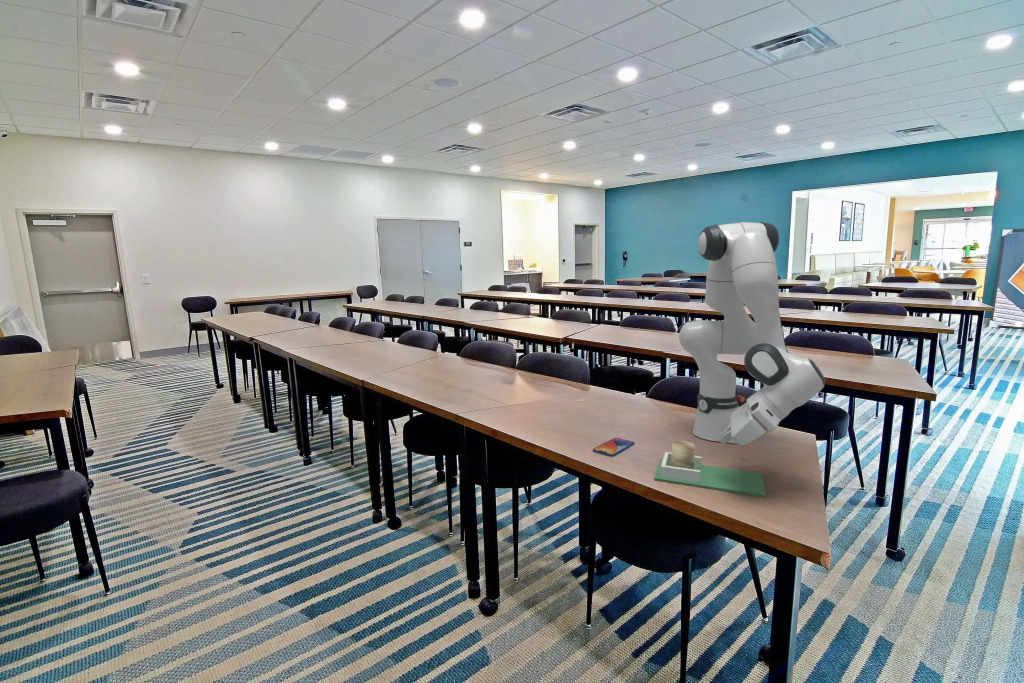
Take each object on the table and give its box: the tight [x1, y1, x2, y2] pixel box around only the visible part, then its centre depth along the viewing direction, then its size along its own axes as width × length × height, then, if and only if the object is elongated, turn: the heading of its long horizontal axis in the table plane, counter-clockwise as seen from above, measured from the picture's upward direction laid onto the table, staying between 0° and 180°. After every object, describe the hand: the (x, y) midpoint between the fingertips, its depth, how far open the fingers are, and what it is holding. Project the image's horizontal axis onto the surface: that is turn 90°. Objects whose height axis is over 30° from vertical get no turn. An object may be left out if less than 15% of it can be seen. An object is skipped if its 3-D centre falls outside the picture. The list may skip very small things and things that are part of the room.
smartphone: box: [592, 437, 636, 458], centre depth 158 cm, size 7×15×1 cm, turn 139°
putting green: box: [653, 451, 767, 498], centre depth 135 cm, size 27×14×4 cm, turn 67°
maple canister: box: [671, 440, 696, 470], centre depth 137 cm, size 6×6×8 cm
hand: (720, 440), depth 133 cm, fingers closed
